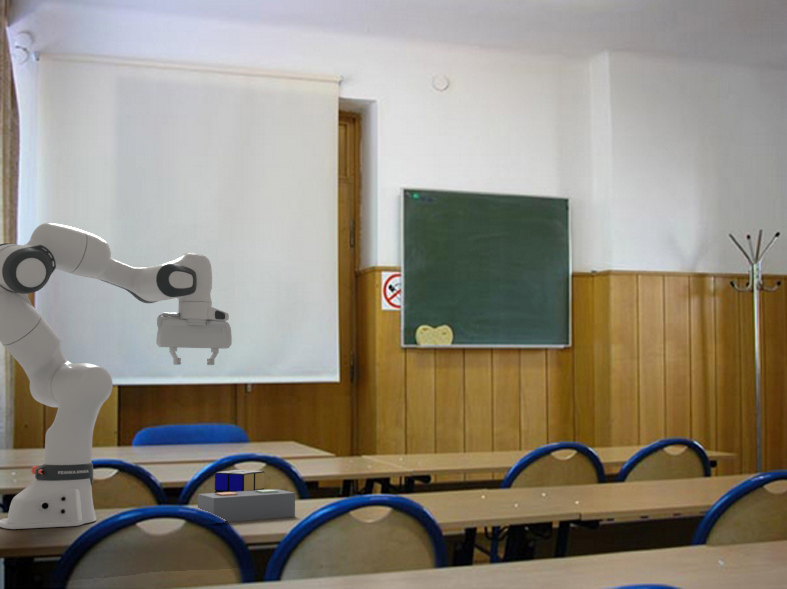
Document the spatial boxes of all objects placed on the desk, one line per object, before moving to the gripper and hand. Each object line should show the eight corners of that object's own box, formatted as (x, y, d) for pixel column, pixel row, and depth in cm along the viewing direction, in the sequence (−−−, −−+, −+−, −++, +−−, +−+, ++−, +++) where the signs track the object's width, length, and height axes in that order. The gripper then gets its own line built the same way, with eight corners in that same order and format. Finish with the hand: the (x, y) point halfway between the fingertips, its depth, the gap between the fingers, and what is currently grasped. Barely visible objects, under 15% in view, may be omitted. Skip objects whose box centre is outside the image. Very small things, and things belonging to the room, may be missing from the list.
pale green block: (262, 514, 238) (262, 491, 238) (255, 513, 241) (255, 490, 242) (277, 513, 240) (277, 490, 241) (270, 511, 244) (270, 489, 244)
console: (213, 523, 227) (214, 498, 228) (197, 517, 237) (198, 493, 237) (294, 516, 239) (295, 492, 239) (276, 511, 248) (276, 489, 249)
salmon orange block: (221, 518, 232) (221, 494, 233) (215, 516, 236) (215, 492, 236) (237, 516, 234) (237, 493, 235) (230, 514, 238) (231, 491, 238)
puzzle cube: (213, 509, 255) (214, 472, 256) (235, 505, 264) (236, 469, 265) (243, 511, 250) (243, 473, 251) (264, 507, 259) (265, 470, 260)
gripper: (161, 311, 244) (159, 364, 242) (234, 314, 255) (233, 365, 253) (153, 313, 249) (152, 364, 248) (225, 316, 260) (224, 365, 258)
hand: (194, 364), depth 251 cm, fingers open, 8 cm apart
